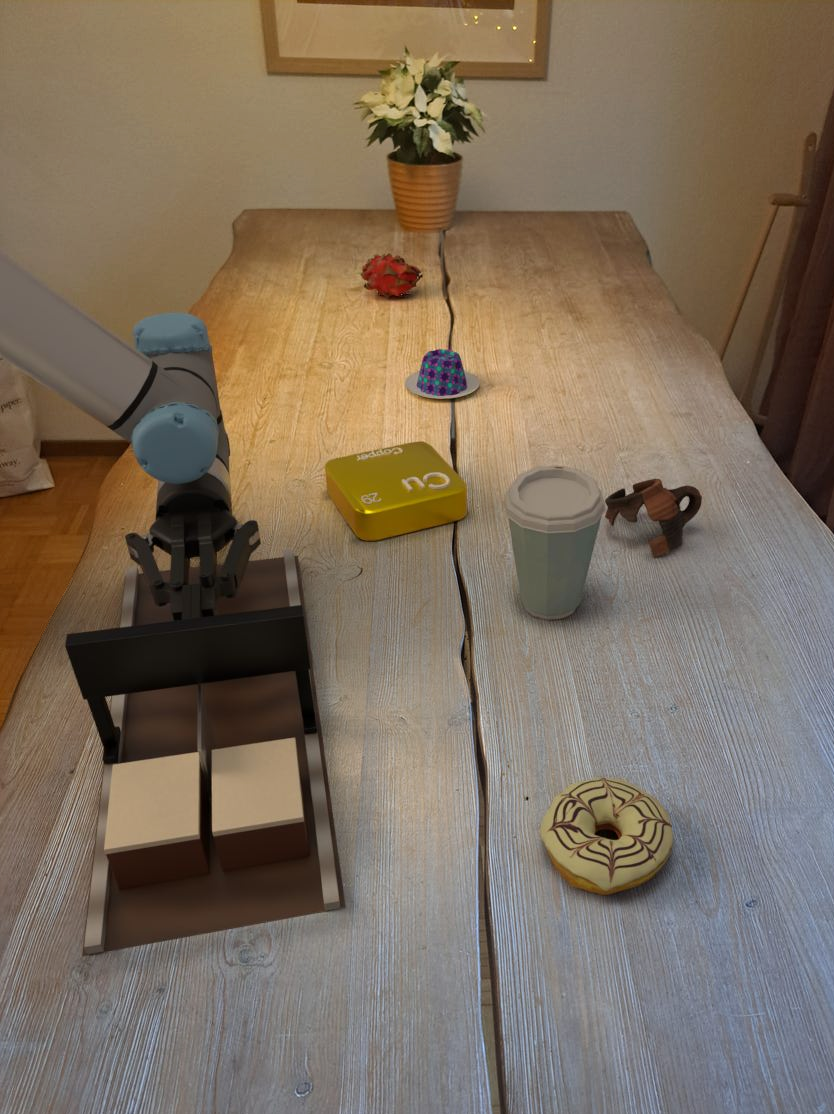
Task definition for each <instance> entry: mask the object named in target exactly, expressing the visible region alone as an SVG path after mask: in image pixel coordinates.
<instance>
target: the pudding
mask: <svg viewBox="0 0 834 1114" xmlns="http://www.w3.org/2000/svg"><path fill="white" fill-rule="evenodd" d="M480 383H481V381H480V379H479V377H478V376H477V375H476V374H474V373H473V372H471V371H469V370H466V369H465V368H464V365H463V361H462V357H461V355H460V353H458V352H456V351H453V350H452V349H442V348H438V349H435V350H428V351H427V352H426V353H425V354H424V355H423V357H422V360H421V363H420V368H419V370H417V371H415V372H412V373H411V374H409V375H408V376H407V377H406V378H405V379H404V386H405V388H406V389H407V390H408V391H409V392H411V393H412V394H415V395H417V396H420V397H423V398H428V399H429V398H430V399H439V400H440V399H454V398H455V399H456V398H460V397H464V396H468V395H469V394H471V393H473V392H475V391H476V390H477V389H479V387H480V385H481V384H480Z"/></svg>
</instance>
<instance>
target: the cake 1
mask: <svg viewBox="0 0 834 1114" xmlns="http://www.w3.org/2000/svg"><path fill="white" fill-rule="evenodd" d="M104 851H105V853H106V856H107V859H108V861H109V864H110V867H111V869H112V872H113V874H114V877H115V880H116V882H117V885H118V887H119V889H124V888H130V887H136V886H142V885H148V884H154V883H159V882H165V881H171V880H177V879H183V878H188V877H194V876H200V875H206V874H210V814H209V793H208V789H207V785H206V781H205V777H204V773H203V769H202V766H201V762H200V758H199V754H198V752H195V753H188V754H181V755H174V756H168V757H161V758H154V759H148V760H141V761H134V762H127V763H121V764H114V765H113V767H112V777H111V787H110V796H109V806H108V816H107V825H106V835H105V845H104Z"/></svg>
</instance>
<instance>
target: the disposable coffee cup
mask: <svg viewBox="0 0 834 1114" xmlns="http://www.w3.org/2000/svg"><path fill="white" fill-rule="evenodd" d="M502 504H503V509H504V514H505V517H507V519H508V526H509V531H510V532H509V533H510V538H511V547H512V551H513V552H512V553H513V557H514V564H515V570H516V578H517V583H518V589H519V596H520V601H521V605H523V609H524V610H525V611H526V612H527V613H528V614H530V615H531V616H532V617H535V618H537V619H538V618H539V619H542V620H545V621H546V620H547V621H548V620H549V621H550V620H551V621H552V620H562V619H564V618H566V617H569V616H571V615H573V614H574V612H575V611H576V609H577V608H578V606H579V604H580V603H581V601H582V597H583V592H584V590H585V586H586V581H587V577H588V573H589V569H590V566H591V565H590V564H591V561H592V557H593V554H594V553H593V552H594V549H595V545H596V541H597V536H598V532H599V528H600V526H601V525H600V524H601V520H602V517H603V514H605V512H606V508H605V506H606V505H605V504H606V503H605V499H604V497H603V495H602V491H601V489H600V488H599V485H598V482H597V480H595V479H594V478H593V477H592V476H590V475H589V474H587V473H586V472H585V471H583V470H582V469H579V468H575V467H570V466H564V465H540V466H539V465H538V466H535V467H533V468H530V469H529V470H526V471H523V472H522V473H520V474H518V475H517V476H516V478H515V479H514V480H513V482H512V483H511V485H510V486H509V487H508V490H507V491H506V492H505V493H504V494H503V501H502Z"/></svg>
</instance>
